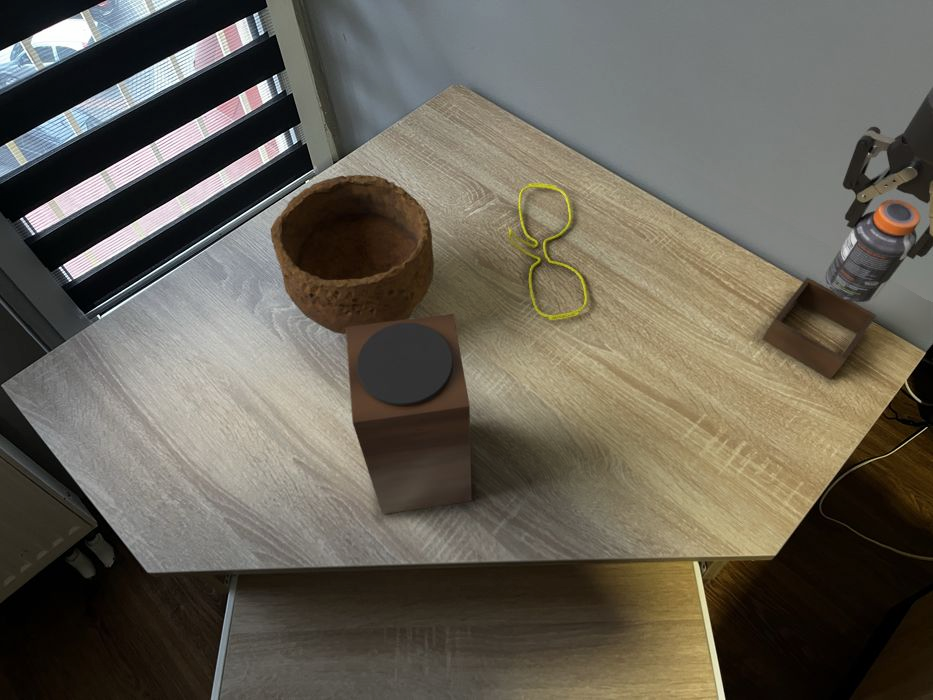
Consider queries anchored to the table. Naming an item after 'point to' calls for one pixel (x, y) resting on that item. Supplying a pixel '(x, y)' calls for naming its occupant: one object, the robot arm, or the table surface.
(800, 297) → the brown wooden square box
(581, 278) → the glasses
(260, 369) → the table surface
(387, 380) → the coaster
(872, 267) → the pill bottle
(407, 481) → the stand
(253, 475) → the table surface
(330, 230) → the bowl
